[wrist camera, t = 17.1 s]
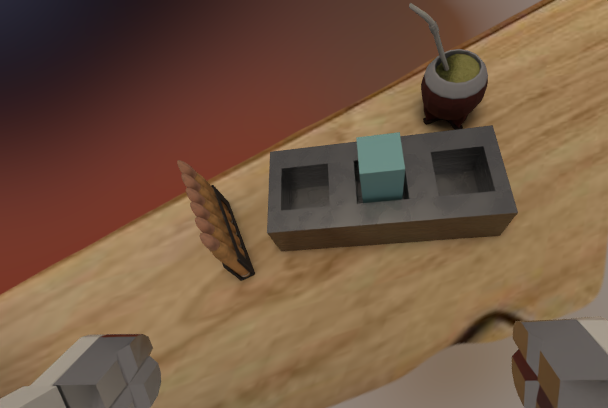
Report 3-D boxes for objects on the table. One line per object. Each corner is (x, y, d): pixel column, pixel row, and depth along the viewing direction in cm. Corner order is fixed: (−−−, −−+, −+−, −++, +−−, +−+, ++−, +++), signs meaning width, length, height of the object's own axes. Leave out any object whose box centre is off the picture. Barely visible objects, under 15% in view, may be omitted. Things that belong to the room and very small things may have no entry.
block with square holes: (281, 251, 43) (267, 232, 38) (282, 177, 48) (270, 152, 42) (499, 235, 39) (517, 212, 34) (479, 156, 44) (492, 125, 38)
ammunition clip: (255, 274, 43) (213, 238, 32) (241, 281, 43) (193, 247, 32) (228, 201, 48) (184, 150, 37) (215, 207, 48) (167, 158, 37)
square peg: (364, 217, 42) (359, 173, 33) (361, 187, 44) (356, 137, 35) (400, 214, 41) (405, 169, 33) (396, 183, 43) (399, 132, 34)
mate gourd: (487, 122, 45) (530, 15, 32) (428, 147, 46) (447, 50, 32) (455, 82, 49) (482, -29, 36) (400, 105, 49) (407, 3, 36)
